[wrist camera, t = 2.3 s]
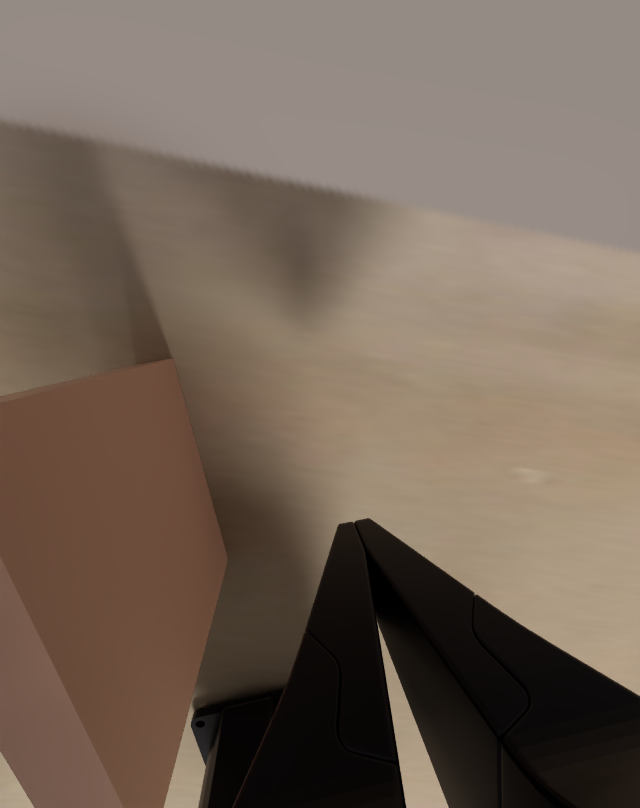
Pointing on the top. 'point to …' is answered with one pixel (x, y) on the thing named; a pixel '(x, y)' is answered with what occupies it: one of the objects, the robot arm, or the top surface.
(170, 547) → the tile
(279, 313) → the top surface
